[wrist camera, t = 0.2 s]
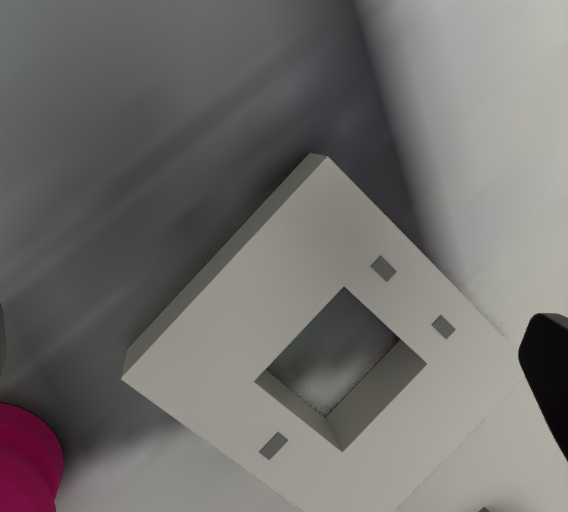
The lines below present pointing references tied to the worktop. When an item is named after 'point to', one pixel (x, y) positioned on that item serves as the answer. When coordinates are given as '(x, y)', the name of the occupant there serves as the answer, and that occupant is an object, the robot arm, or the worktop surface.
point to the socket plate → (293, 319)
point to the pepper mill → (28, 462)
